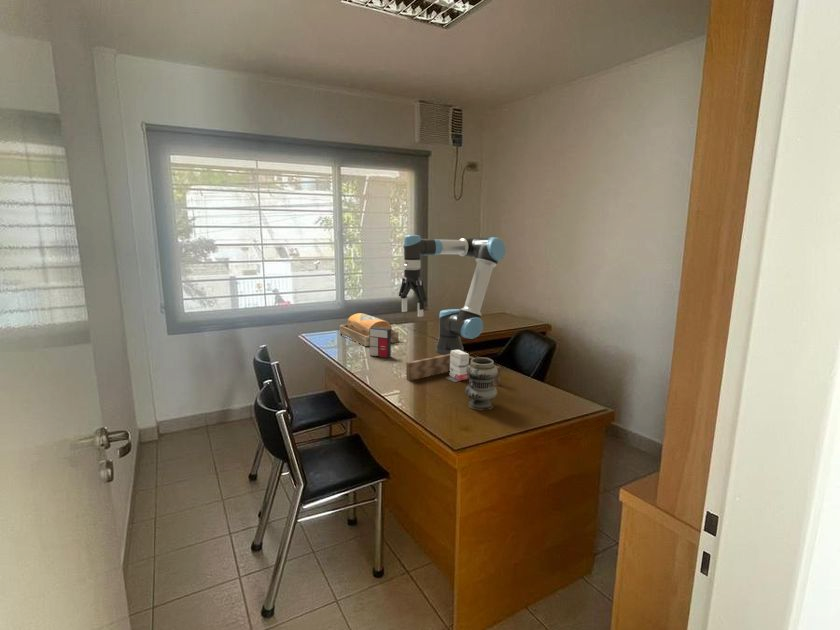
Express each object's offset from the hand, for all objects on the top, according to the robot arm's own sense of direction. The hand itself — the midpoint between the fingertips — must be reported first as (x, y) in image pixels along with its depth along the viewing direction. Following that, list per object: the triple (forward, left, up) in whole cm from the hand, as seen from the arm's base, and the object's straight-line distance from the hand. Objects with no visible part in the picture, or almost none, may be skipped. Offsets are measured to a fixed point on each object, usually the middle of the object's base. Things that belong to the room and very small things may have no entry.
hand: (412, 314), depth 205 cm
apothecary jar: (+3, +52, -27) cm, 59 cm away
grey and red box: (+3, -26, -27) cm, 38 cm away
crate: (-10, -64, -27) cm, 70 cm away
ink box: (-10, +23, -27) cm, 37 cm away
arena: (-4, +26, -27) cm, 37 cm away
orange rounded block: (-10, -62, -27) cm, 69 cm away
